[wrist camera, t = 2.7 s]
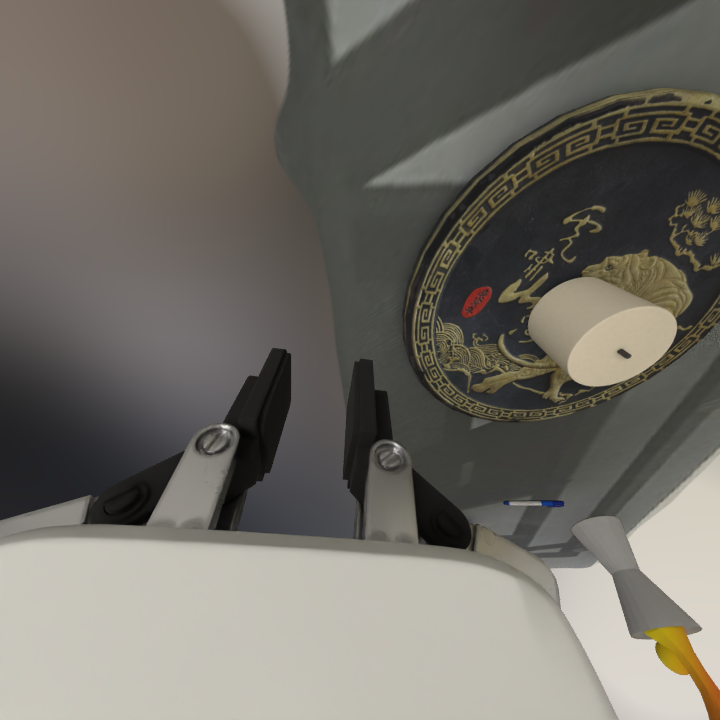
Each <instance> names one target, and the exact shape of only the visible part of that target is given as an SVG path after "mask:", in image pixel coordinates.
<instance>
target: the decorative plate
mask: <svg viewBox="0 0 720 720" xmlns="http://www.w3.org/2000/svg"><path fill="white" fill-rule="evenodd" d="M581 277H594V278H598V279H601V280H603V281H605V282H607V283H609V284H612V285H614V286H616V287H618V288H620V289H623V290H625V291H627V292H629V293H631V294H633V295H636V296H638V297H640V298H642V299H644V300H647V301H649V302H651V303H653V304H655V305H657V306H660V307H662V308H664V309H666V310H668V311H669V312H671V313H672V315H673V316H674V317H675V319H676V323H677V332H676V336H675V338H674V341H673V342H672V344H671V346H670V347H669V349H668V350H667V351H666V352H665V354H664V355H663V356H662V357H661V358H660V359H659V360H658V361H656V362H655V363H654V364H653V365H652V366H650V367H649V368H647V369H646V370H644V371H643V372H641V373H639V374H638V375H636V376H634V377H632V378H629V379H627V380H625V381H622V382H619V383H615V384H612V385H607V386H586V385H582V384H579V383H577V382H576V381H574V380H573V379H572V378H571V377H570V376H569V375H568V374H567V373H566V372H565V371H564V370H563V369H562V368H561V367H560V366H559V365H558V364H557V363H556V362H555V361H554V360H553V359H552V358H551V357H550V356H549V355H548V354H547V353H546V352H544V351H543V350H542V349H541V348H540V347H539V346H538V345H537V344H536V343H535V342H534V341H533V339H532V338H531V337H530V335H529V331H528V321H529V317H530V314H531V312H532V310H533V309H534V307H535V305H536V304H537V303H538V302H539V300H540V299H541V298H542V297H543V296H544V295H545V294H547V293H548V292H549V291H550V290H552V289H553V288H555V287H556V286H558V285H560V284H562V283H564V282H566V281H569V280H572V279H575V278H581ZM719 321H720V96H719V95H717V94H714V93H709V92H700V91H692V90H683V89H674V88H665V87H664V88H656V89H650V90H643V91H637V92H631V93H625V94H619V95H613V96H608V97H605V98H603V99H600V100H597V101H595V102H592V103H590V104H587V105H585V106H582V107H580V108H577V109H574V110H572V111H569V112H567V113H564V114H562V115H559V116H557V117H556V118H554V119H552V120H551V121H549V122H547V123H546V124H544V125H542V126H541V127H539V128H538V129H536V130H534V131H533V132H531V133H529V134H528V135H526V136H524V137H523V138H521V139H520V140H518V141H516V142H515V143H513V144H512V145H510V146H509V147H508V148H507V149H506V150H505V151H503V152H502V153H501V154H500V155H499V156H498V157H496V158H495V159H494V160H493V161H492V162H491V163H489V164H488V165H487V166H486V167H485V168H484V169H482V170H481V171H480V172H479V173H478V174H477V175H475V176H474V177H473V178H472V179H471V180H470V182H469V183H468V184H467V185H466V186H465V188H464V189H463V190H462V191H461V192H460V193H459V195H458V196H457V197H456V198H455V199H454V200H453V202H452V203H451V204H450V205H449V206H448V207H447V209H446V210H445V211H444V212H443V213H442V215H441V217H440V218H439V220H438V222H437V223H436V225H435V226H434V228H433V230H432V231H431V233H430V235H429V236H428V238H427V240H426V241H425V243H424V245H423V246H422V248H421V250H420V253H419V255H418V258H417V260H416V263H415V265H414V268H413V270H412V273H411V276H410V278H409V281H408V285H407V290H406V296H405V301H404V307H403V339H404V343H405V347H406V350H407V354H408V358H409V361H410V364H411V366H412V367H413V369H414V371H415V373H416V375H417V376H418V378H419V380H420V382H421V383H422V385H423V386H424V387H425V388H426V389H427V390H428V391H429V392H430V393H431V394H432V395H433V396H434V397H435V398H436V399H438V400H439V401H441V402H442V403H444V404H445V405H447V406H448V407H450V408H451V409H454V410H456V411H459V412H461V413H464V414H466V415H469V416H471V417H476V418H481V419H485V420H490V421H500V422H527V421H540V420H545V419H550V418H555V417H560V416H565V415H568V414H571V413H575V412H578V411H581V410H584V409H587V408H590V407H593V406H595V405H598V404H600V403H602V402H605V401H607V400H609V399H612V398H614V397H616V396H619V395H621V394H623V393H625V392H626V391H628V390H630V389H632V388H634V387H635V386H637V385H639V384H641V383H643V382H645V381H646V380H648V379H650V378H651V377H653V376H654V375H656V374H657V373H659V372H660V371H662V370H663V369H664V368H666V367H667V366H669V365H670V364H672V363H673V362H675V361H676V360H677V359H679V358H680V357H681V356H682V355H683V354H685V353H686V352H687V351H688V350H689V349H691V348H692V347H693V346H694V345H695V344H697V343H698V342H699V341H700V340H701V339H703V338H704V337H705V336H706V335H707V334H708V332H709V331H710V330H711V329H712V328H713V327H714V326H715V325H716V324H717V323H718V322H719Z"/></svg>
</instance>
